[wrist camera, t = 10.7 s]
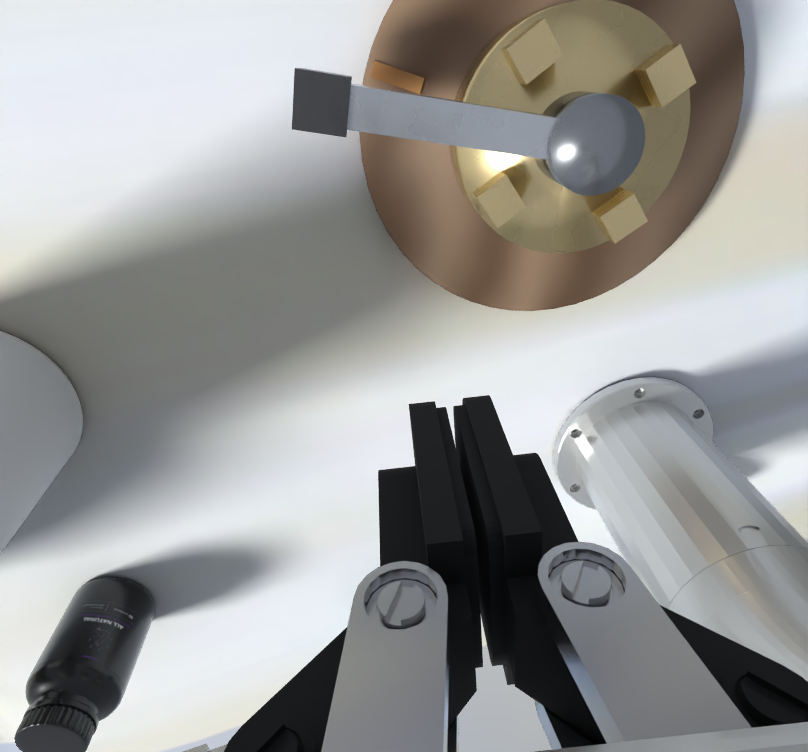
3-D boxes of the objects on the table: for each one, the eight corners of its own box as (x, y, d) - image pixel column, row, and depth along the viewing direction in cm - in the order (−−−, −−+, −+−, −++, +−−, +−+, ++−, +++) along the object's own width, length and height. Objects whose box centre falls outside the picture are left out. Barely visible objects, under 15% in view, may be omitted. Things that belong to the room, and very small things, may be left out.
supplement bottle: (138, 567, 48) (78, 707, 37) (168, 618, 51) (121, 761, 41) (59, 581, 48) (-23, 726, 37) (95, 632, 51) (29, 778, 41)
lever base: (808, 10, 31) (829, 7, 30) (601, 343, 41) (610, 353, 39) (454, -207, 26) (460, -222, 25) (309, 235, 35) (308, 242, 34)
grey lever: (691, 27, 30) (772, 18, 24) (618, 248, 35) (670, 283, 30) (312, -45, 27) (300, -75, 21) (298, 207, 33) (286, 237, 27)
